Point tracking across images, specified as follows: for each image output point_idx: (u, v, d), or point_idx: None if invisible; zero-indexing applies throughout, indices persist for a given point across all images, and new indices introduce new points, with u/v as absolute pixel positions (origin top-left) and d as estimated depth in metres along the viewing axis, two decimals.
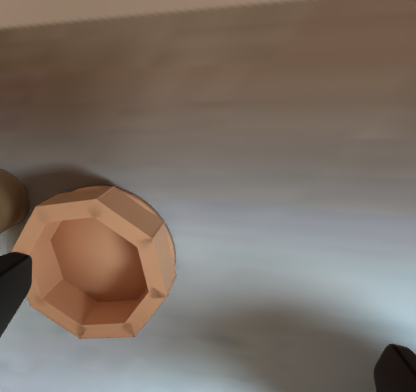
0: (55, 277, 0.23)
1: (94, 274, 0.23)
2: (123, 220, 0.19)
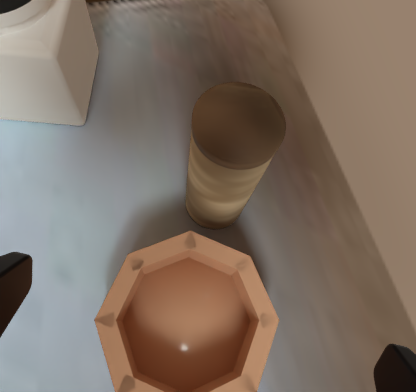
0: (151, 269, 0.21)
1: (158, 311, 0.20)
2: (266, 354, 0.18)
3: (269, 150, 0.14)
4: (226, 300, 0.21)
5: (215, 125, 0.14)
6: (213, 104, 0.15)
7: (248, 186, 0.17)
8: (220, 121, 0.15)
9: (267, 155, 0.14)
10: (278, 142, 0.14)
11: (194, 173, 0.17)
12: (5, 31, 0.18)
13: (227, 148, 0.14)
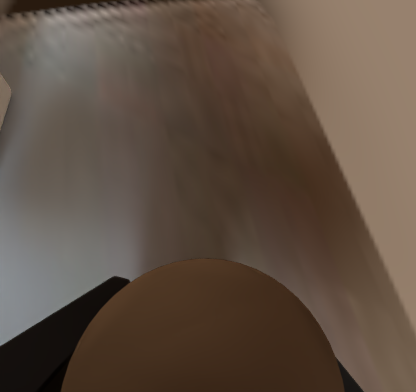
0: None
1: None
2: None
3: None
4: None
5: None
6: (131, 343, 0.05)
7: None
8: None
9: None
10: None
11: None
12: None
13: None
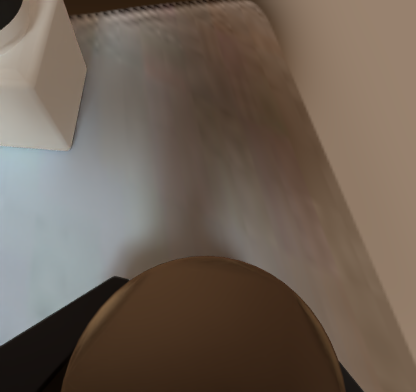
0: None
1: None
2: None
3: None
4: None
5: None
6: (132, 340, 0.05)
7: None
8: None
9: None
10: None
11: None
12: None
13: None
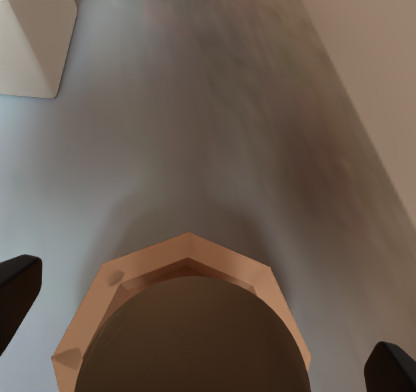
0: (136, 284, 0.15)
1: None
2: None
3: None
4: None
5: None
6: (133, 348, 0.06)
7: None
8: None
9: None
10: None
11: None
12: None
13: None
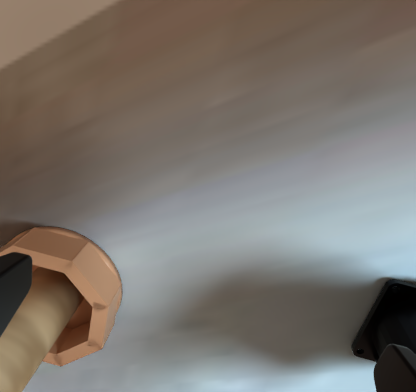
0: None
1: None
2: (42, 254, 0.21)
3: None
4: None
5: None
6: None
7: (14, 355, 0.18)
8: None
9: None
10: None
11: None
12: None
13: None
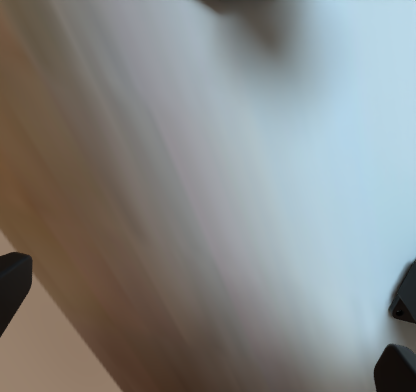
0: None
1: None
2: None
3: None
4: None
5: None
6: None
7: None
8: None
9: None
10: None
11: None
12: None
13: None
